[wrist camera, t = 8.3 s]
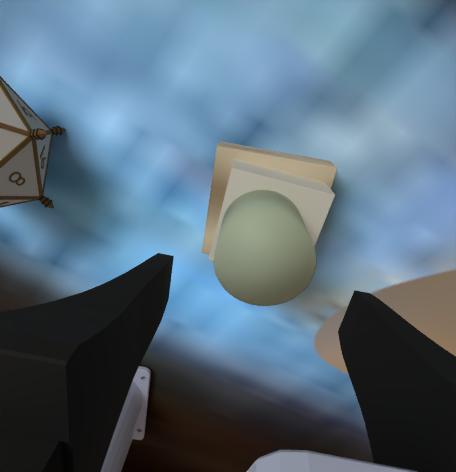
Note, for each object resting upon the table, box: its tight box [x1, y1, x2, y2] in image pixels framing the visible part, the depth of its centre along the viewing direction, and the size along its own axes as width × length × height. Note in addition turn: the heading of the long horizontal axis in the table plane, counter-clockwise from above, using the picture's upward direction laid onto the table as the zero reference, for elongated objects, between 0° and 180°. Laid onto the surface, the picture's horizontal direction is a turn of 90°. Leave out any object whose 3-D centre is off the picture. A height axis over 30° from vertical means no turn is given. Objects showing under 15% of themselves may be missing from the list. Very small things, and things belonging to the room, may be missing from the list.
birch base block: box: [202, 142, 337, 254], centre depth 21 cm, size 7×7×2 cm
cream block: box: [209, 159, 335, 261], centre depth 18 cm, size 6×6×2 cm
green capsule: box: [214, 190, 316, 306], centre depth 16 cm, size 4×4×4 cm
